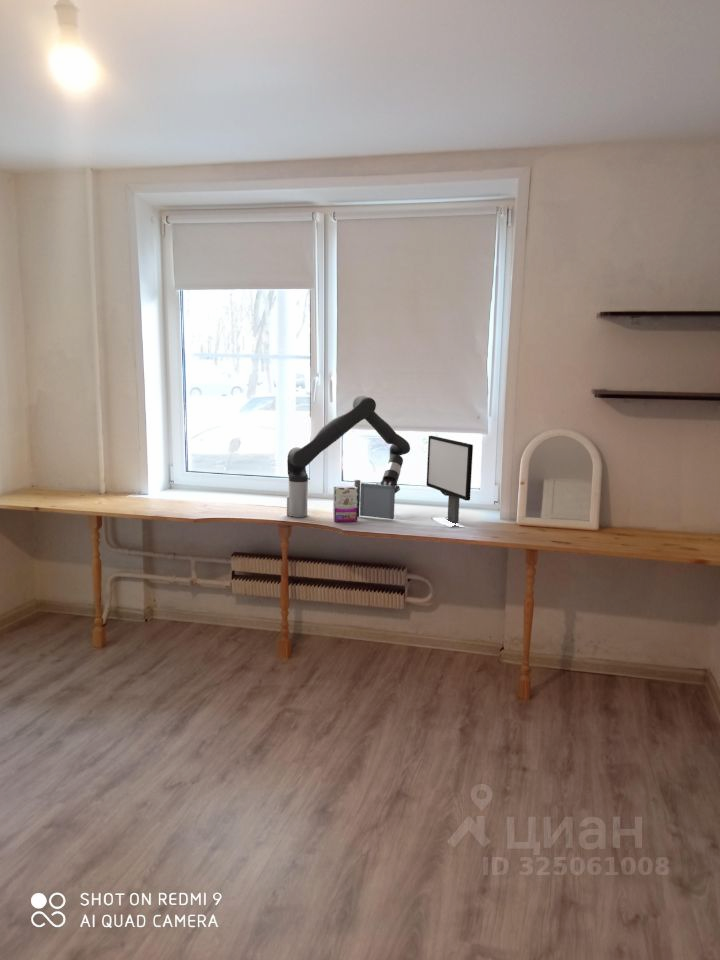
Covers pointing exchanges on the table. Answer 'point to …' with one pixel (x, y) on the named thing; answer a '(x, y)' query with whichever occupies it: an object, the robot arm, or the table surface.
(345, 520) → the candy bar box
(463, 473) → the computer monitor
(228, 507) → the table surface
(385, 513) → the gate
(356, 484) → the hinge post
